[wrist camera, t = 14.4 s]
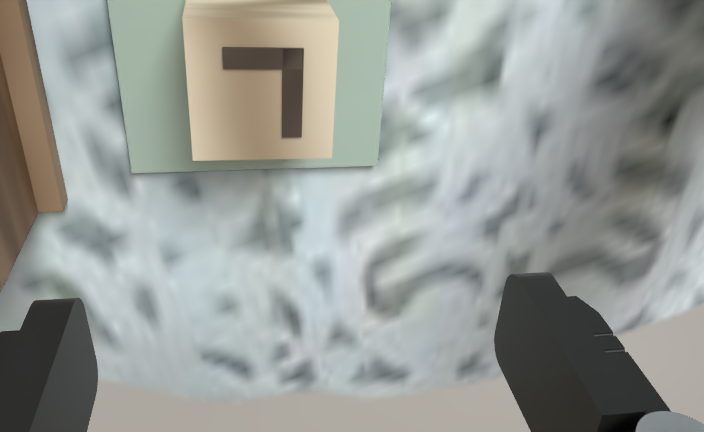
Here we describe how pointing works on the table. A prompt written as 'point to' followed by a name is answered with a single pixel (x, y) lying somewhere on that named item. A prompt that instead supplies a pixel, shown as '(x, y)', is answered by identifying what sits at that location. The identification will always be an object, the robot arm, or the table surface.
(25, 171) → the walnut screen
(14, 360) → the robot arm
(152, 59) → the sage pad
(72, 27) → the table surface
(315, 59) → the letter cube
